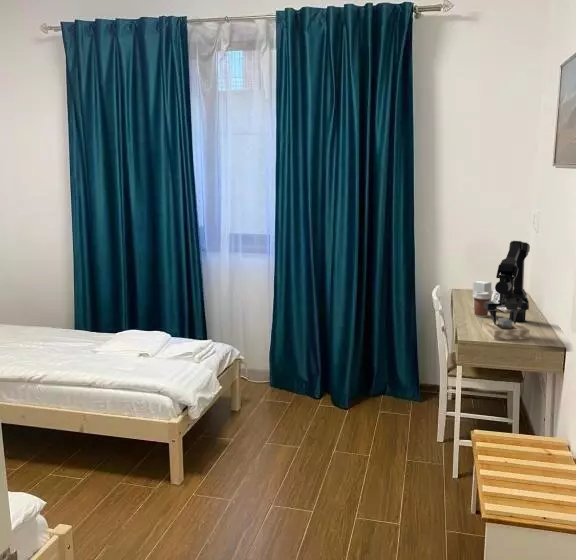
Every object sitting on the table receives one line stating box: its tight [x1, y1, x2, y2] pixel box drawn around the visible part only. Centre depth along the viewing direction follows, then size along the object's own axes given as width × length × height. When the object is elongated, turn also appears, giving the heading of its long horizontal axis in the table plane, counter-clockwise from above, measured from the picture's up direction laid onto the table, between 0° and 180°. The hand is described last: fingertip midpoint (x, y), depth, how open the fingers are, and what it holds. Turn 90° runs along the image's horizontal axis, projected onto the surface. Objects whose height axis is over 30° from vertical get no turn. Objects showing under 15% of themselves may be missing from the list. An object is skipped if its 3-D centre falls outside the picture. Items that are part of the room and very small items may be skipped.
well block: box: [481, 321, 531, 341], centre depth 276 cm, size 16×14×4 cm
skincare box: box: [472, 280, 492, 309], centre depth 327 cm, size 8×6×15 cm
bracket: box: [497, 317, 513, 330], centre depth 276 cm, size 4×8×7 cm, turn 3°
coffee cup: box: [472, 292, 492, 318], centre depth 312 cm, size 9×9×12 cm
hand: (504, 323), depth 277 cm, fingers open, 9 cm apart
